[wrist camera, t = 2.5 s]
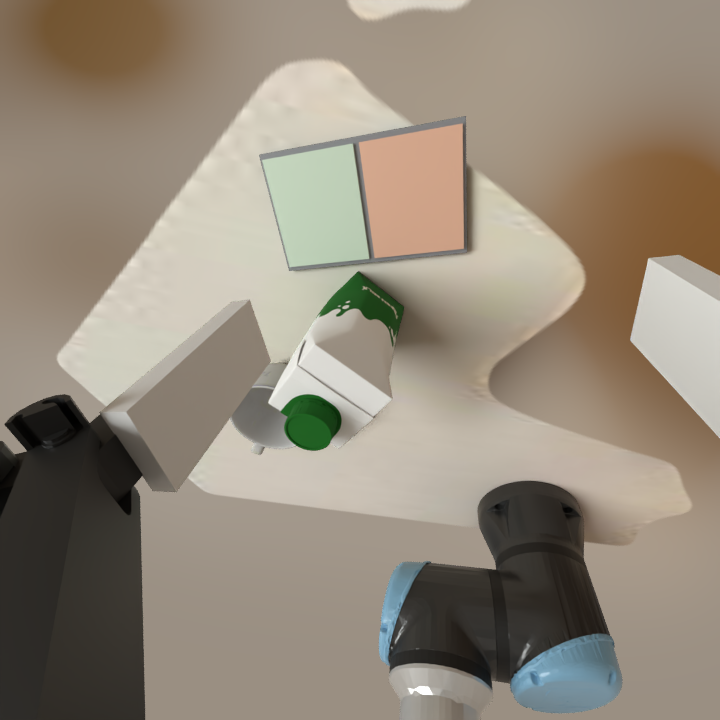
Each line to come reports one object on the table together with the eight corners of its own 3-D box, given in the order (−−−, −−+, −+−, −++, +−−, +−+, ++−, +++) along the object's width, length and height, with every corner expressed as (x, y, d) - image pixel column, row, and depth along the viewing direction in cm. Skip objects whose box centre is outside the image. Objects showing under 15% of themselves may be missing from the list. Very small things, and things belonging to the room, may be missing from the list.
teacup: (273, 338, 49) (247, 371, 43) (339, 382, 51) (324, 420, 45) (234, 399, 57) (207, 435, 50) (293, 435, 59) (275, 474, 52)
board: (466, 250, 39) (466, 253, 38) (291, 268, 43) (288, 271, 43) (465, 116, 33) (466, 116, 32) (262, 154, 37) (257, 154, 36)
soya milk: (316, 314, 46) (247, 419, 30) (357, 259, 41) (303, 347, 25) (370, 354, 48) (335, 474, 31) (416, 305, 43) (403, 417, 27)
